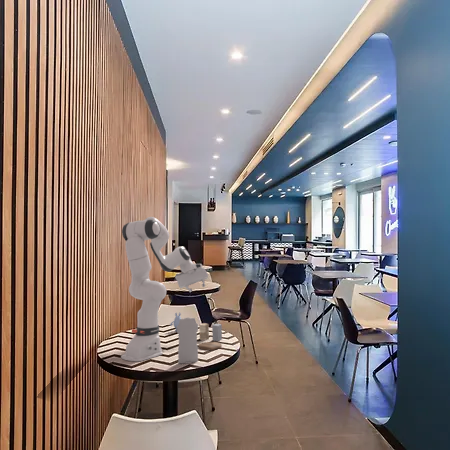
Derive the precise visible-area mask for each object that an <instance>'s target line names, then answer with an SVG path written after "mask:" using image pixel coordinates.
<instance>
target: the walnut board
mask: <svg viewBox="0 0 450 450" xmlns="http://www.w3.org/2000/svg"><path fill="white" fill-rule="evenodd" d="M197 346H198V350H202V351H214V350H216V351H217V350H218V349H221V348H222V343H220V342H219V341H204V342H201V343H199V344H197Z"/></svg>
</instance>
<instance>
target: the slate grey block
mask: <svg viewBox="0 0 450 450" xmlns="http://www.w3.org/2000/svg"><path fill="white" fill-rule="evenodd" d="M211 327H212V328H211V329H212V330H211V331H212V341H213V342H220V341H222V340H223V335H222V334H223V333H222V331H223V330H222V324H221V323H214V324H212V326H211Z"/></svg>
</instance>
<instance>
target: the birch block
mask: <svg viewBox="0 0 450 450" xmlns="http://www.w3.org/2000/svg"><path fill="white" fill-rule="evenodd" d="M198 330H199V340H201V341H207V340H209V339H210V332H209V331H210V329H209V323H206V322H203V323H200V324H198Z"/></svg>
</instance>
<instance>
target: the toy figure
mask: <svg viewBox="0 0 450 450" xmlns="http://www.w3.org/2000/svg"><path fill="white" fill-rule="evenodd" d="M181 315H182V314H181V312H179V313H177V312H175V314H174V316H175V318H174V319H173V321H172V322H170V323H169V326H170V327H171V326H173V327H174V328H175V329H174V332H177V326H178V325H179V321H180V319H182V317H181Z"/></svg>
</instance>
